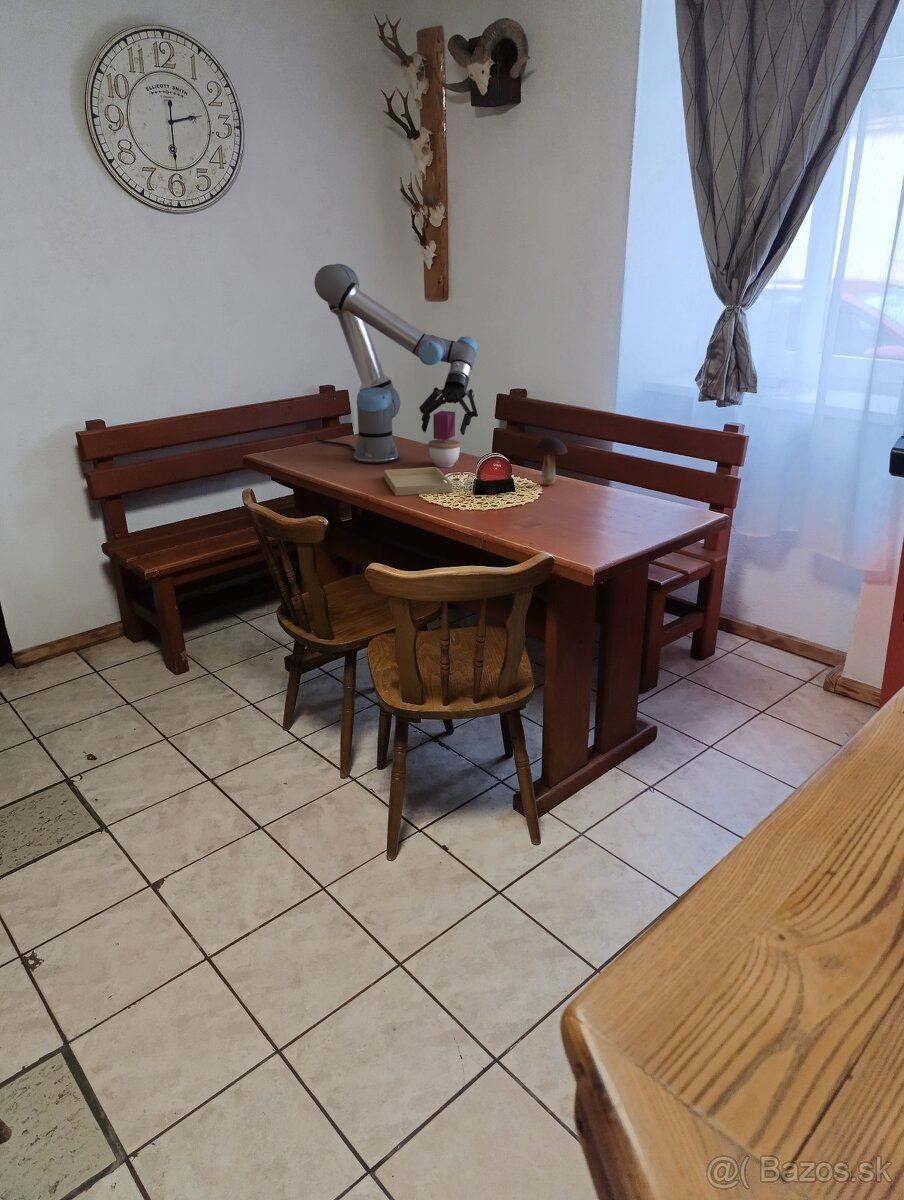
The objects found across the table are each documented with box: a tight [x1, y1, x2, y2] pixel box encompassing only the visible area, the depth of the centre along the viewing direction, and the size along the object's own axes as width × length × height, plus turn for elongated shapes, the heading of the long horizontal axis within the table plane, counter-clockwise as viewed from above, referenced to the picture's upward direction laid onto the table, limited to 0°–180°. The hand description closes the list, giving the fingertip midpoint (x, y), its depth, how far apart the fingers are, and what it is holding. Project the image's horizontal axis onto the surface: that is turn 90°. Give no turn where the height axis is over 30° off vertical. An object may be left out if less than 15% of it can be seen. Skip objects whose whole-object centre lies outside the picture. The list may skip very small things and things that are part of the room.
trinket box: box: [427, 438, 461, 468], centre depth 272 cm, size 11×11×9 cm
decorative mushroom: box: [531, 436, 569, 487], centre depth 247 cm, size 11×11×15 cm
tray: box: [383, 466, 453, 496], centre depth 250 cm, size 21×17×3 cm
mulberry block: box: [432, 410, 456, 440], centre depth 269 cm, size 7×5×8 cm
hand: (442, 431), depth 268 cm, fingers open, 13 cm apart
